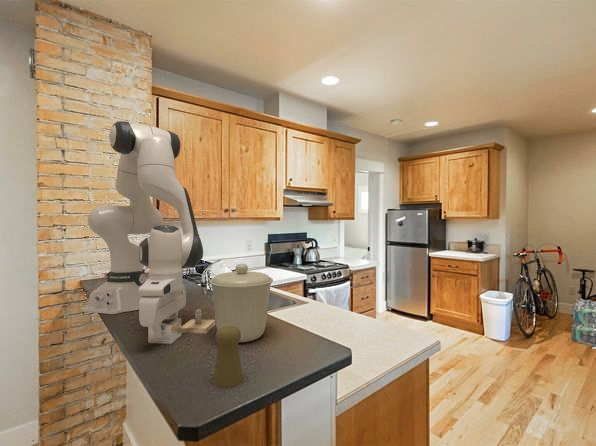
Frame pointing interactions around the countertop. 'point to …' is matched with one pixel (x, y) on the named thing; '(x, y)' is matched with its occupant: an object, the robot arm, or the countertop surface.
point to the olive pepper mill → (228, 357)
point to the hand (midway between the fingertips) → (165, 332)
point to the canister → (242, 301)
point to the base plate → (197, 324)
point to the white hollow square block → (167, 331)
